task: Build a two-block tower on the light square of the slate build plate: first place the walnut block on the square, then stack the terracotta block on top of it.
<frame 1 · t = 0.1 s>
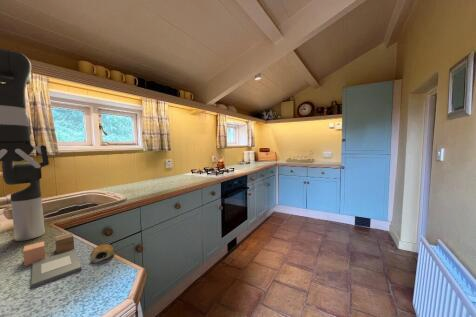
hand: (15, 183, 55), 29 cm above the counter, tool pointing down, fingers open, 8 cm apart
walnut block: (65, 249, 76), on the counter
pastry: (102, 256, 71), on the counter
build plate: (56, 267, 64), on the counter
terracotta block: (35, 259, 69), on the counter
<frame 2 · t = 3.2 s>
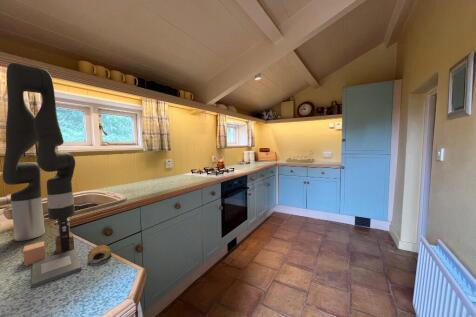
hand: (65, 247, 76), 0 cm above the counter, tool pointing down, fingers closed on walnut block, 5 cm apart
walnut block: (65, 248, 76), on the counter, touching gripper
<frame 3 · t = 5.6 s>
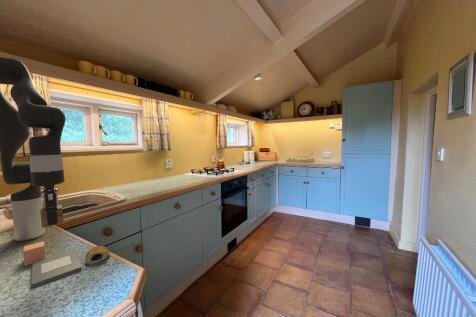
hand: (52, 221, 63), 15 cm above the counter, tool pointing down, fingers closed on walnut block, 5 cm apart
walnut block: (52, 223, 63), point 15 cm above the counter, touching gripper
when the fingers open (2 cm above the counter, at t = 8.3 s): walnut block stays where it is, resting on build plate.
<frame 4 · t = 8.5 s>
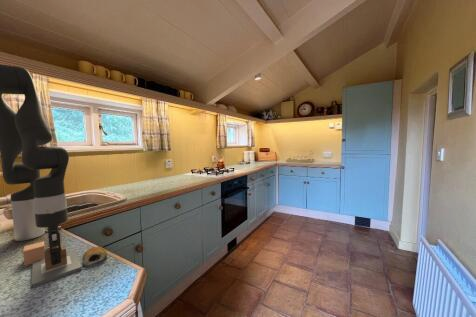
hand: (55, 259, 64), 3 cm above the counter, tool pointing down, fingers open, 6 cm apart
walnut block: (56, 263, 64), point 1 cm above the counter, touching build plate
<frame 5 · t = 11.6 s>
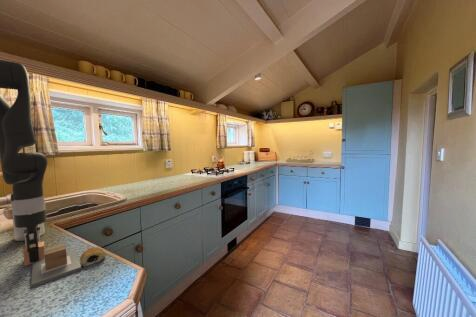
hand: (34, 257, 69), 1 cm above the counter, tool pointing down, fingers open, 6 cm apart
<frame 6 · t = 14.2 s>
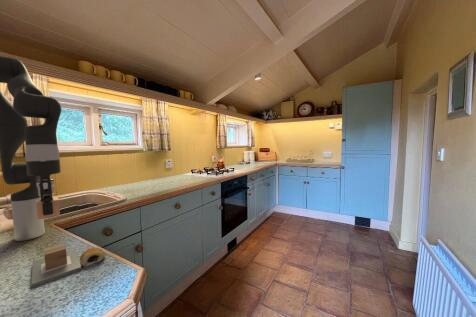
hand: (48, 212, 63), 18 cm above the counter, tool pointing down, fingers closed on terracotta block, 5 cm apart
terracotta block: (48, 215, 63), point 17 cm above the counter, touching gripper
when the fingers open (7 cm above the counter, at t = 16.6 s): terracotta block stays where it is, resting on walnut block.
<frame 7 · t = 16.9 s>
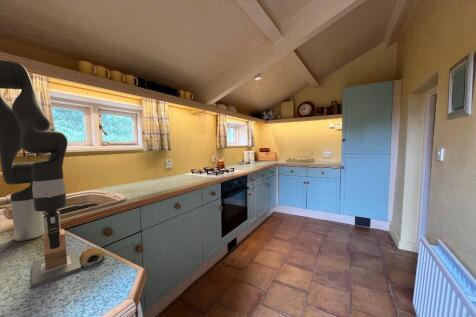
hand: (54, 243, 64), 8 cm above the counter, tool pointing down, fingers open, 7 cm apart
walnut block: (56, 263, 64), point 1 cm above the counter, touching build plate, terracotta block
terracotta block: (55, 248, 64), point 6 cm above the counter, touching walnut block
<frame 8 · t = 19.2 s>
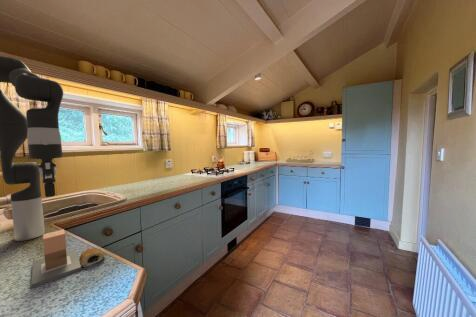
hand: (50, 194, 63), 24 cm above the counter, tool pointing down, fingers open, 8 cm apart
at the end: walnut block 0.1 cm off-centre on the build plate, point 1.1 cm above the build plate's base; terracotta block 0.2 cm off-centre on the walnut block, point 5.0 cm above the walnut block's base; terracotta block tilted 0° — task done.
